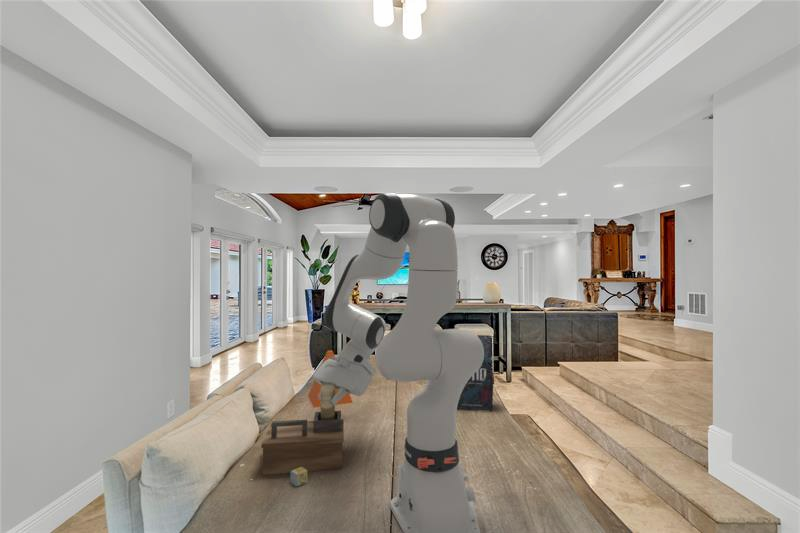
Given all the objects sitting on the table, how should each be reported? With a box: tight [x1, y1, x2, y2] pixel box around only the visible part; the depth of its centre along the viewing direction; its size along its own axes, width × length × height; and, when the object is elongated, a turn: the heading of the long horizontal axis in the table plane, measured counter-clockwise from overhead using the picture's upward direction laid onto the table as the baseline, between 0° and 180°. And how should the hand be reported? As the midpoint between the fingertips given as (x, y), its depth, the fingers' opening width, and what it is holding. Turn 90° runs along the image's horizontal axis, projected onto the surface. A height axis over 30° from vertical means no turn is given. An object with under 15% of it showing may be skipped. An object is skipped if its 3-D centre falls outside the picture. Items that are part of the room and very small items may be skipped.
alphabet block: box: [290, 467, 308, 488], centre depth 93 cm, size 3×3×3 cm
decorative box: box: [457, 334, 494, 412], centre depth 147 cm, size 8×16×28 cm, turn 81°
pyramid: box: [307, 350, 353, 409], centre depth 156 cm, size 16×16×20 cm
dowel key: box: [320, 383, 336, 420], centre depth 108 cm, size 4×4×12 cm
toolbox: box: [260, 410, 345, 476], centre depth 105 cm, size 14×21×12 cm, turn 99°
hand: (326, 401), depth 107 cm, fingers closed on dowel key, 4 cm apart
